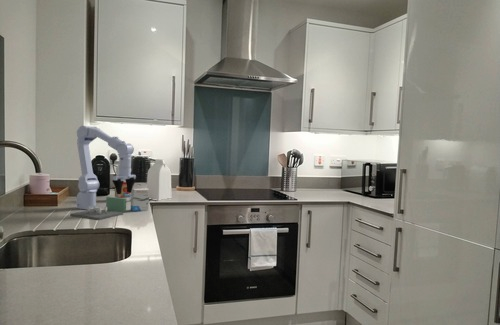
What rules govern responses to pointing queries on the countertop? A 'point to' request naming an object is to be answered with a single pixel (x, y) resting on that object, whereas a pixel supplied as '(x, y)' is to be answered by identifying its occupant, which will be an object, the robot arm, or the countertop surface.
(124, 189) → the fruit juice
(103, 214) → the plate
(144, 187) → the ink box
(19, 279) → the countertop surface
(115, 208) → the board
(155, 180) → the milk
